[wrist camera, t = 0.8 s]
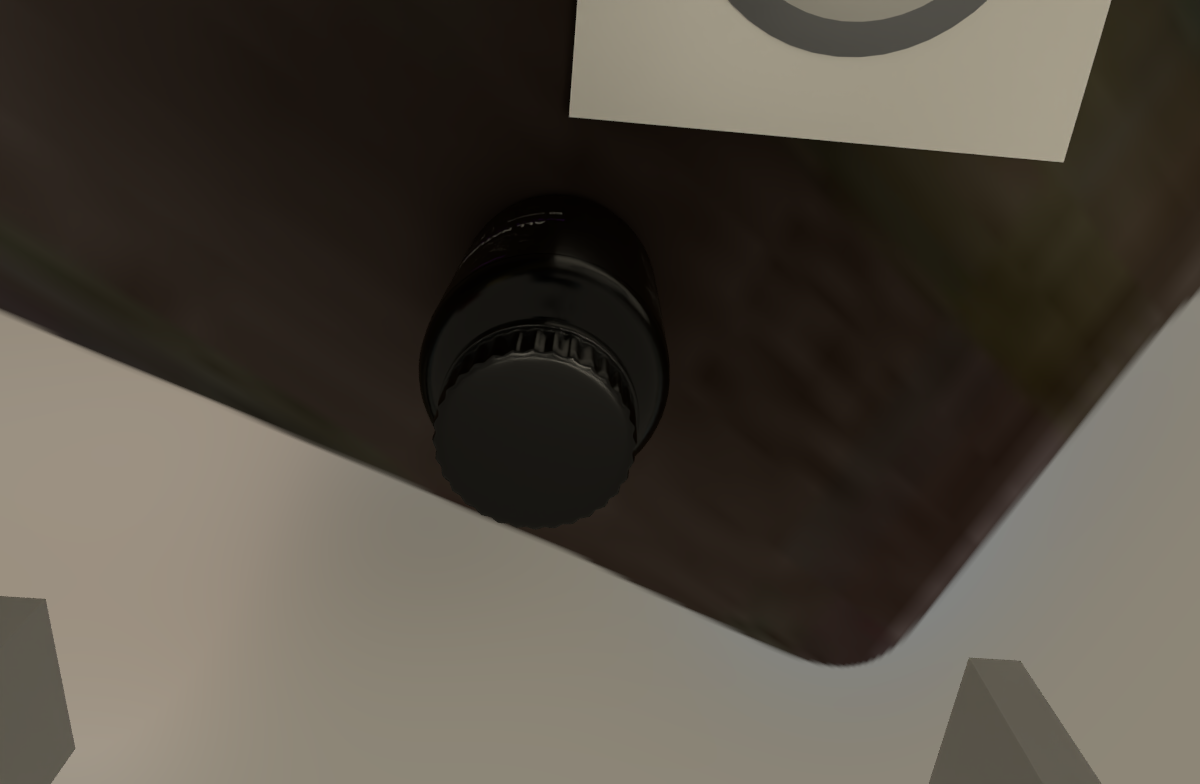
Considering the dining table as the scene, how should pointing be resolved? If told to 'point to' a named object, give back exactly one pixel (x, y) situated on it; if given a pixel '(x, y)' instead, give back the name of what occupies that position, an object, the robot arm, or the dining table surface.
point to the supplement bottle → (545, 363)
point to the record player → (844, 69)
